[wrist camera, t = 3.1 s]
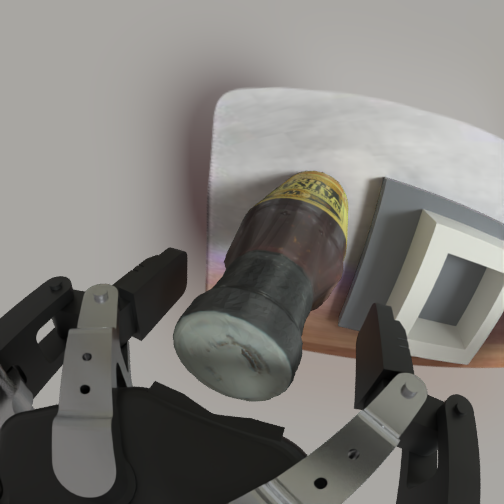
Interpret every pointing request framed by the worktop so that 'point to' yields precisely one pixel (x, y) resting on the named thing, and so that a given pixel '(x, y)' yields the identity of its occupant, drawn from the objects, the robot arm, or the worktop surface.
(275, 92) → the worktop surface
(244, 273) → the sauce bottle
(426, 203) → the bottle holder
